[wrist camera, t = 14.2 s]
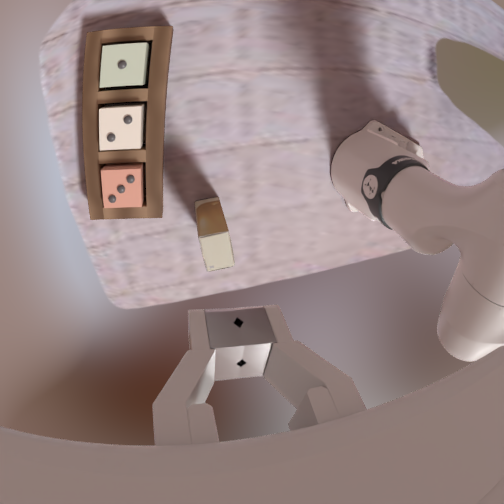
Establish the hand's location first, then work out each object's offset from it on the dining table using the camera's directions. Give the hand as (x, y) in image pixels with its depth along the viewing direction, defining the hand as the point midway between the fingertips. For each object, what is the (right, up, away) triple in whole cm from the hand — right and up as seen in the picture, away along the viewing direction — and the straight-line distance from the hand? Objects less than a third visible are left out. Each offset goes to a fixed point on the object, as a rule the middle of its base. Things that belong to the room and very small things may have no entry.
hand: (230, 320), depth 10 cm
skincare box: (-7, +9, +41) cm, 43 cm away
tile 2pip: (-18, +22, +28) cm, 40 cm away
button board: (-18, +22, +29) cm, 40 cm away
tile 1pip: (-17, +29, +23) cm, 41 cm away
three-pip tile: (-19, +14, +33) cm, 41 cm away
